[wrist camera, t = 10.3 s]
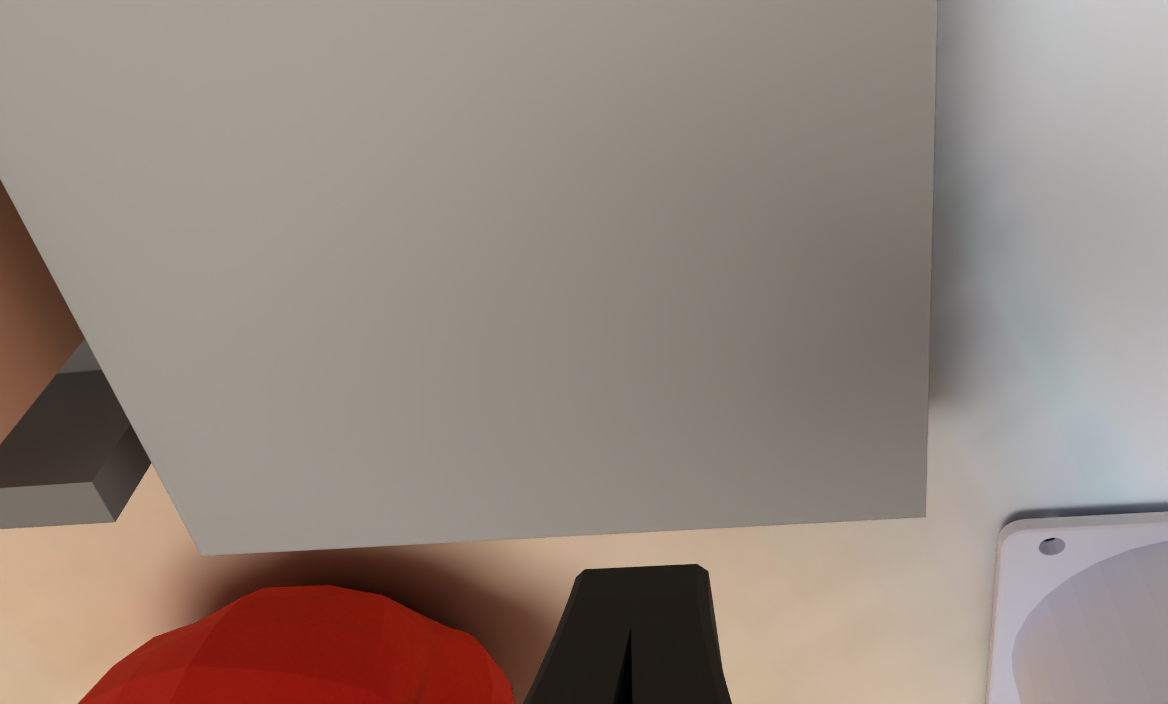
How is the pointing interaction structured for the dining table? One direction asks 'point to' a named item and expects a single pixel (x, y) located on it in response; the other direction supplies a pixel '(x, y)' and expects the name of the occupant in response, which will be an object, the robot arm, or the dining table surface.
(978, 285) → the dining table surface
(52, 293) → the tile terracotta
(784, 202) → the slate board
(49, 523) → the box
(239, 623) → the tomato
